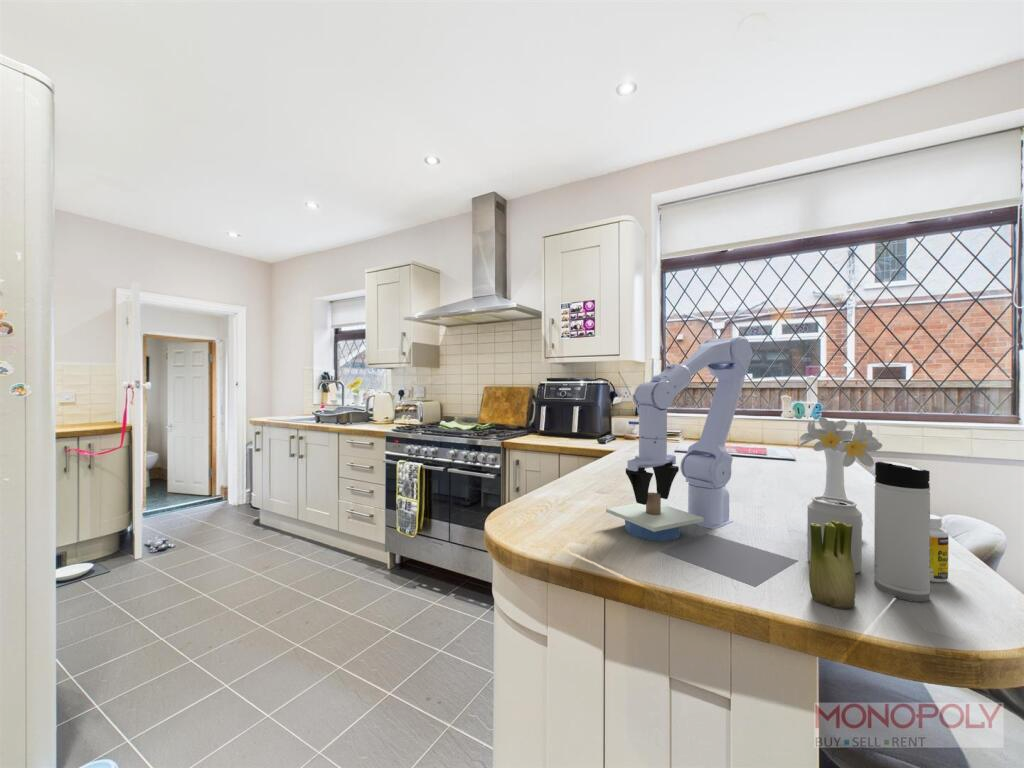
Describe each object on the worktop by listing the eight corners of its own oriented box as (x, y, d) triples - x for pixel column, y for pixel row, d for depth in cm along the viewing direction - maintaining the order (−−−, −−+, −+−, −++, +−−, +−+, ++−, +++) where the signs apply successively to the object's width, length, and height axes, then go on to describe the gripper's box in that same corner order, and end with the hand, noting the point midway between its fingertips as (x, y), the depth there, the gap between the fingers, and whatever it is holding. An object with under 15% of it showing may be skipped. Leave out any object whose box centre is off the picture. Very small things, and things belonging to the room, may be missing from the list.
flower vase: (837, 551, 80) (838, 421, 80) (782, 520, 99) (782, 415, 99) (909, 553, 79) (909, 422, 79) (840, 522, 98) (840, 416, 98)
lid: (652, 504, 98) (652, 484, 99) (703, 521, 86) (703, 498, 86) (606, 512, 92) (606, 490, 92) (654, 531, 80) (654, 506, 80)
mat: (706, 535, 88) (706, 533, 88) (798, 562, 75) (798, 560, 75) (659, 553, 78) (659, 551, 78) (755, 589, 64) (755, 586, 64)
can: (870, 581, 68) (870, 507, 68) (815, 573, 70) (815, 502, 70) (850, 563, 75) (850, 496, 75) (801, 557, 77) (801, 492, 77)
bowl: (645, 522, 97) (646, 506, 97) (690, 536, 88) (690, 518, 88) (615, 531, 90) (615, 514, 90) (659, 547, 82) (659, 528, 82)
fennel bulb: (810, 607, 60) (810, 523, 60) (804, 592, 64) (805, 514, 64) (861, 617, 57) (862, 530, 57) (852, 601, 61) (852, 520, 61)
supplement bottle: (943, 587, 66) (943, 522, 66) (897, 573, 71) (897, 513, 71) (952, 578, 69) (952, 516, 69) (907, 566, 74) (907, 508, 74)
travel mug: (861, 583, 67) (862, 459, 67) (899, 582, 67) (899, 459, 68) (901, 603, 61) (901, 466, 61) (942, 602, 61) (942, 466, 61)
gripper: (656, 433, 97) (656, 492, 97) (615, 437, 88) (615, 501, 88) (684, 436, 91) (684, 498, 91) (644, 441, 83) (643, 509, 83)
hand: (652, 500), depth 89 cm, fingers open, 7 cm apart
